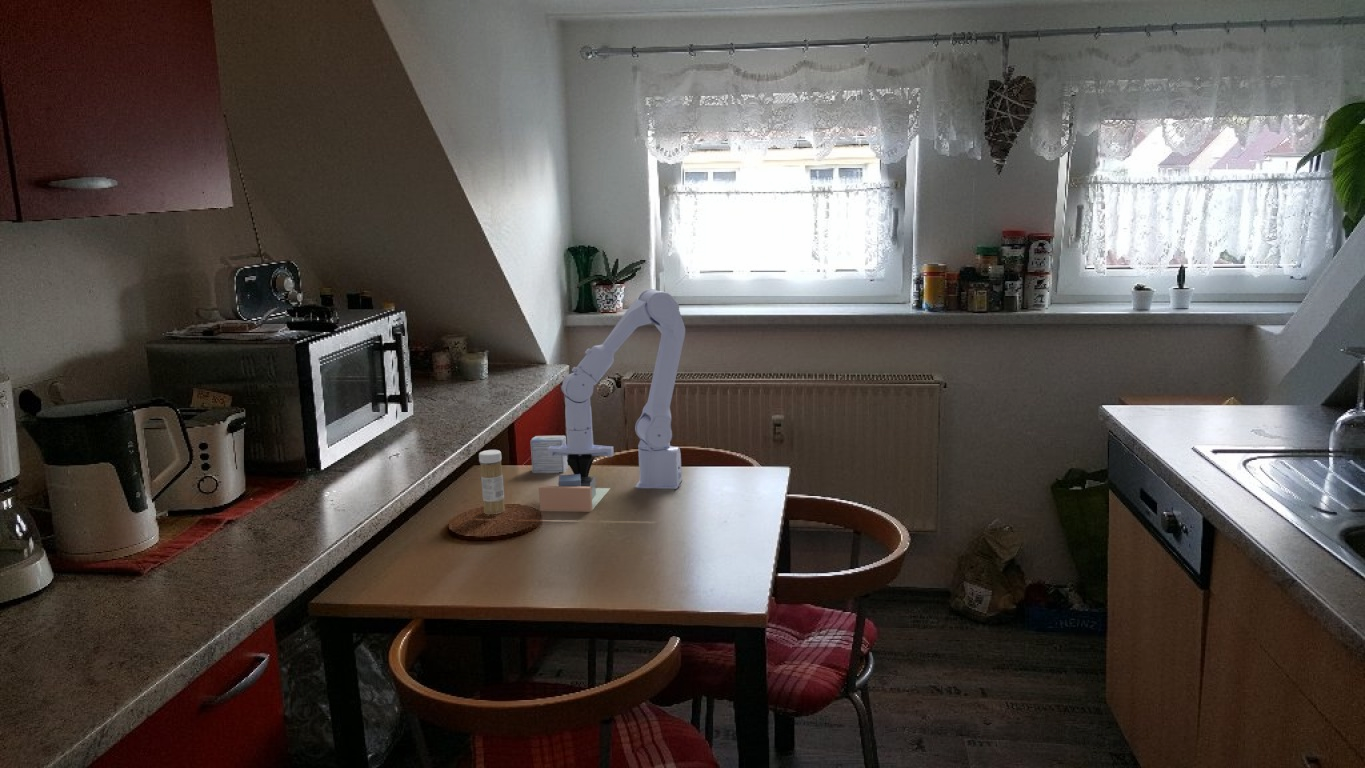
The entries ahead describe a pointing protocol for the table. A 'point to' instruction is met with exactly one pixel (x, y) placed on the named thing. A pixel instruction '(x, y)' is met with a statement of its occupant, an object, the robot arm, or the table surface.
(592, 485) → the grey toy block
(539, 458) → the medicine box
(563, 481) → the slate blue carton
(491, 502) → the sprinkles bottle
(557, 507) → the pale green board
